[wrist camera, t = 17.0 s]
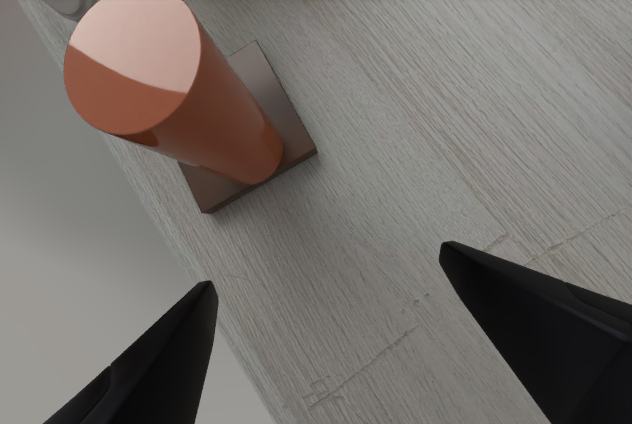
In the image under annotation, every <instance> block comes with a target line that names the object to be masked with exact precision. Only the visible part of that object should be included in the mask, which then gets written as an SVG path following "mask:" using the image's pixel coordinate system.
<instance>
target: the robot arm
mask: <svg viewBox="0 0 632 424" xmlns="http://www.w3.org/2000/svg"><path fill="white" fill-rule="evenodd" d="M439 263H440V265H441V267H442V269H443V271H444V272H445V274H446V276H447V277H448V279H449V281H450V283H451V284H452V286H453V288H454V289H455V291H456V293H457V294H458V296H459V297H460V299H461V300H462V302H463V303H464V305H465V306H466V307H467V309H468V310H469V312H470V313H471V314H472V316H473V317H474V318H475V320H476V321H477V322H478V324H479V325H480V327H481V328H482V329H483V331H484V332H485V333H486V335H487V336H488V338H489V339H490V340H491V342H492V343H493V344H494V346H495V347H496V349H497V350H498V351H499V353H500V354H501V355H502V357H503V358H504V360H505V361H506V362H507V364H508V365H509V366H510V368H511V369H512V370H513V372H514V373H515V375H516V376H517V377H518V379H519V380H520V381H521V383H522V384H523V386H524V387H525V388H526V390H527V391H528V392H529V394H530V395H531V397H532V398H533V399H534V401H535V402H536V403H537V405H538V406H539V408H540V409H541V410H542V412H543V413H544V414H545V416H546V417H547V418H548V420H549V421H550V423H551V424H632V305H631V304H628V303H625V302H622V301H619V300H616V299H613V298H610V297H607V296H604V295H601V294H598V293H595V292H592V291H590V290H587V289H584V288H581V287H578V286H576V285H573V284H570V283H568V282H565V283H564V281H562V280H559V279H556V278H554V277H551V276H548V275H545V274H543V273H540V272H537V271H535V270H532V269H529V268H526V267H524V266H521V265H518V264H515V263H513V262H510V261H507V260H504V259H502V258H499V257H496V256H493V255H491V254H488V253H485V252H483V251H480V250H477V249H474V248H472V247H469V246H466V245H463V244H461V243H458V242H455V241H448V242H443V243H442V244H441V249H440V255H439ZM217 310H218V295H217V293H216V290H215V287H214V285H213V283H212V281H210V280H208V281H202V282H199V283H198V284H197V285H196V286H194V287H193V288H192V289H191V290H190V291H189V292H188V293H187V294H186V295H185V296H184V297H183V298H182V299H180V300H179V301H178V302H177V303H176V304H175V305H174V306H173V307H172V308H171V309H170V310H168V311H167V313H165V314H164V315H163V316H162V317H161V318H160V319H159V320H158V321H157V322H155V324H153V325H152V326H151V327H150V328H149V329H148V330H147V331H146V332H145V333H144V334H142V335H141V336H140V337H139V338H138V339H137V340H136V341H135V342H134V343H133V344H132V345H131V346H129V347H128V348H127V349H126V350H125V351H124V352H123V353H122V354H121V355H120V356H119V357H118V358H116V359H115V360H114V361H113V362H112V363H111V365H110V366H108V367H107V368H106V369H104V370H103V371H102V372H101V373H100V374H99V375H98V376H97V377H96V378H95V379H94V380H92V381H91V382H90V383H89V384H88V385H87V386H86V387H85V388H84V389H83V390H81V391H80V392H79V393H78V394H77V395H76V396H75V397H74V398H72V399H71V400H70V401H69V402H68V403H66V404H65V405H64V406H63V407H62V408H61V409H59V410H58V411H57V412H56V413H55V414H54V415H52V416H51V417H50V418H49V419H48V420H47V421H45V422H44V423H43V424H194V423H195V419H196V415H197V410H198V406H199V402H200V398H201V393H202V390H203V385H204V381H205V377H206V373H207V368H208V364H209V360H210V355H211V352H212V347H213V341H214V334H215V327H216V319H217Z"/></svg>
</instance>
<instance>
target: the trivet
mask: <svg viewBox="0 0 632 424" xmlns="http://www.w3.org/2000/svg"><path fill="white" fill-rule="evenodd" d="M226 59H227V60H228V61H229V63H230V64H231V65H232V67H233V68H234V70H235V71H236V72H237V74H238V75H239V77H240V78H241V79H242V81H243V82H244V83H245V85H246V86H247V88H248V89H249V90H250V92H251V93H252V95H253V96H254V97H255V99H256V100H257V101H258V103H259V104H260V106H261V107H262V108H263V110H264V111H265V113H266V114H267V115H268V117H269V118H270V119H271V121H272V122H273V124H274V125H275V126H276V128H277V129H278V131H279V133H280V135H281V138H282V143H283V152H282V157H281V161H280V163H279V165H278V167H277V168H276V170H275V171H274V172H273V174H272V175H271V176H269V177H268V178H267V179H265V180H264V181H262V182H260V183H257V184H253V185H240V184H236V183H234V182H231V181H228V180H226V179H223V178H221V177H218V176H216V175H213V174H211V173H208V172H205V171H203V170H200V169H198V168H195V167H193V166H190V165H188V164H185V163H182V162H180V161H178V164H179V166H180V168H181V170H182V172H183V174H184V176H185V178H186V181H187V183H188V185H189V187H190V189H191V191H192V193H193V196H194V198H195V200H196V202H197V204H198V206H199V208H200V211H201V213H204V214H211V213H213V212H215V211H217V210H218V209H220V208H222V207H224V206H226V205H227V204H229V203H231V202H233V201H234V200H236V199H238V198H240V197H241V196H243V195H245V194H247V193H248V192H250V191H252V190H254V189H255V188H257V187H259V186H261V185H262V184H264V183H266V182H268V181H269V180H271V179H273V178H275V177H276V176H278V175H280V174H282V173H283V172H285V171H287V170H289V169H290V168H292V167H294V166H296V165H297V164H299V163H301V162H303V161H304V160H306V159H308V158H310V157H311V156H313V155H315V154H317V153H318V151H317V149H316V147H315V145H314V143H313V141H312V139H311V138H310V136H309V134H308V132H307V130H306V129H305V127H304V125H303V123H302V121H301V119H300V118H299V116H298V114H297V112H296V110H295V109H294V107H293V105H292V103H291V101H290V100H289V98H288V96H287V94H286V92H285V91H284V89H283V87H282V85H281V83H280V81H279V80H278V78H277V76H276V74H275V72H274V71H273V69H272V67H271V65H270V63H269V62H268V60H267V58H266V56H265V54H264V53H263V51H262V49H261V47H260V45H259V44H258V42H257V40H254V41H253V42H251V43H250V44H248V45H247V46H245V47H243V48H242V49H240V50H239V51H237V52H236V53H234V54H232V55H231V56H229V57H228V58H226Z"/></svg>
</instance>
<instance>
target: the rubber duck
mask: <svg viewBox="0 0 632 424" xmlns="http://www.w3.org/2000/svg"><path fill="white" fill-rule="evenodd" d="M43 1H44V2H45V3H46V4H48V5H49V6H50V7H51V8H53V9H54V10H55V11H56V12H58V13H59V14H60V15H62V16H63V18H64V22H65V24H66V27H67V29H68V31H69V33H70V35H71V36H72V33H73V32H74V30H75V28H76V26H77V24H78V23H79V21H80V20H81V19H82V17H83V16H84V15H85V14H86V12H87V11H88V10H89V9H90V8H91V7H92V6H93V5H94V4H96V3H97V2H98V1H100V0H43Z"/></svg>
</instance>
